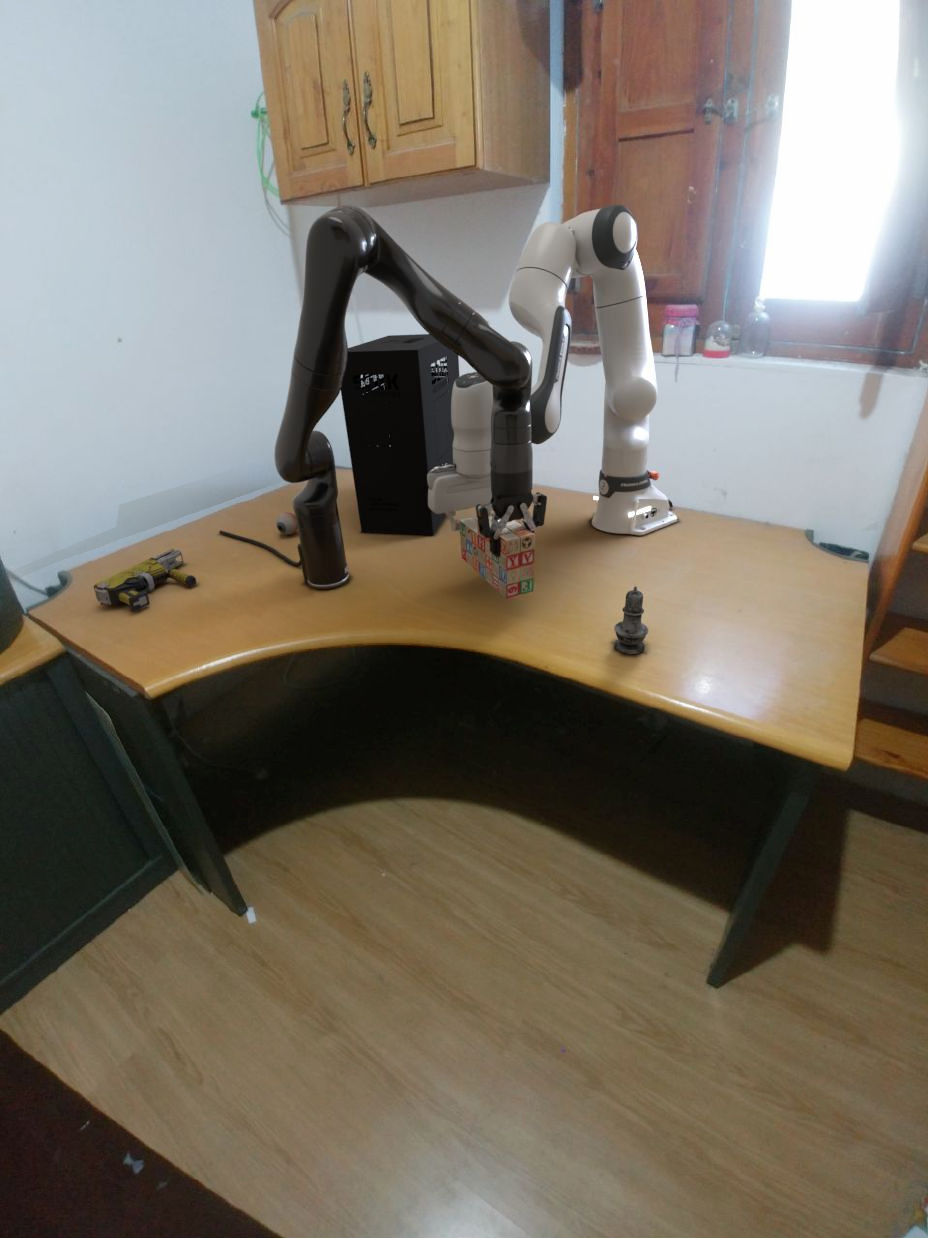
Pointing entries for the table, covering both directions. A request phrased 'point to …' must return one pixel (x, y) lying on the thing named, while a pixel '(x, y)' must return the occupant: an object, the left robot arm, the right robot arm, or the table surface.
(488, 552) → the stack of blocks
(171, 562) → the toy gun
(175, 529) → the table surface
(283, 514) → the eyeball
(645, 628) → the grey chess piece
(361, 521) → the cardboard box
